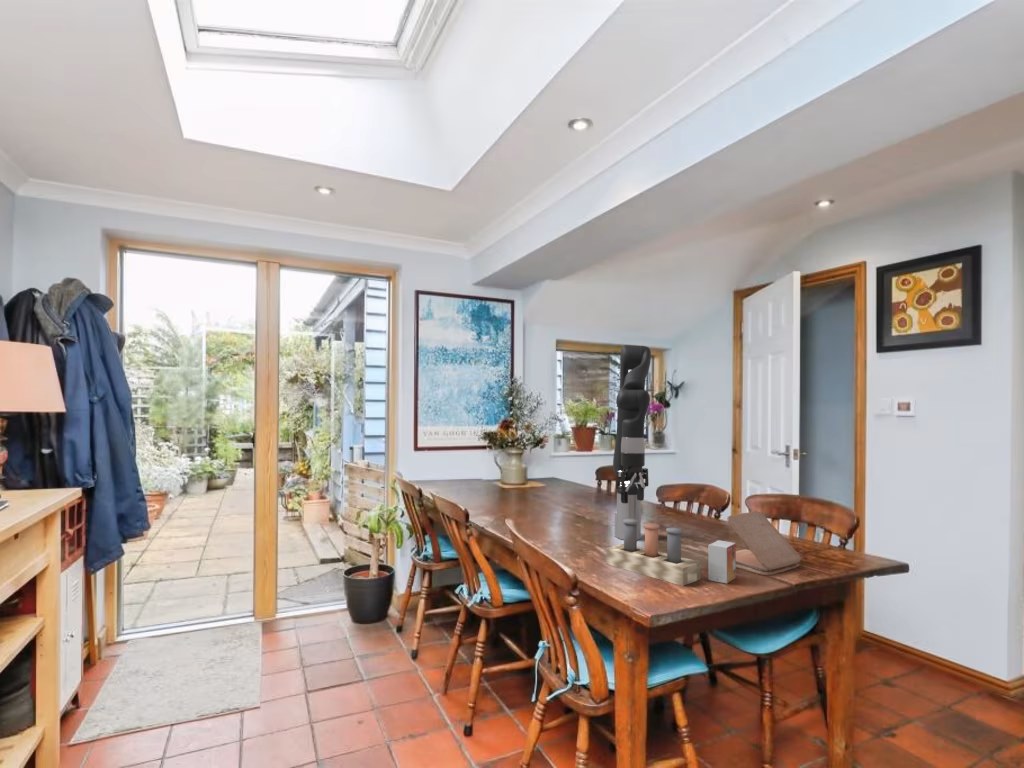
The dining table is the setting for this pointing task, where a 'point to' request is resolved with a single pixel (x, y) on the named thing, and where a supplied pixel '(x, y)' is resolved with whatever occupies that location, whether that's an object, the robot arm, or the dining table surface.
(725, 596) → the dining table surface
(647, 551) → the plug mid
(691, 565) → the socket block
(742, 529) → the case
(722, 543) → the small box
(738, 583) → the dining table surface
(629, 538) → the plug left
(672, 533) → the plug right
